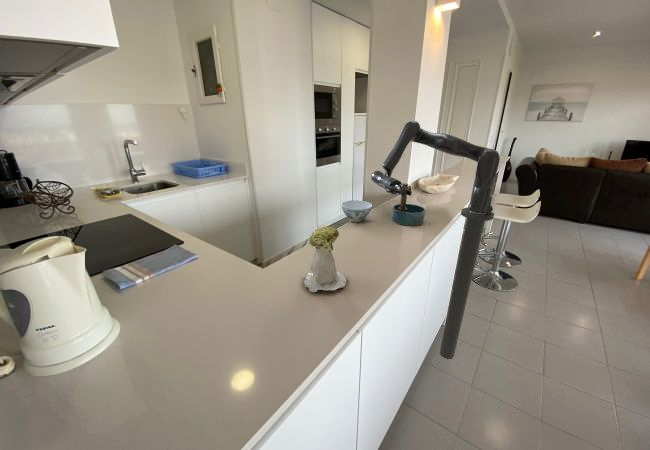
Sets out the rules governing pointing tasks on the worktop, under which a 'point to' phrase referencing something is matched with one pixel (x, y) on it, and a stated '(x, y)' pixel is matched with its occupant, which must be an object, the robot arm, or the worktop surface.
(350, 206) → the chinaware
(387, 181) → the robot arm
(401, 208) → the pestle
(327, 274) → the white plant vase
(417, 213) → the bowl
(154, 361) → the worktop surface
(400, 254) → the worktop surface
